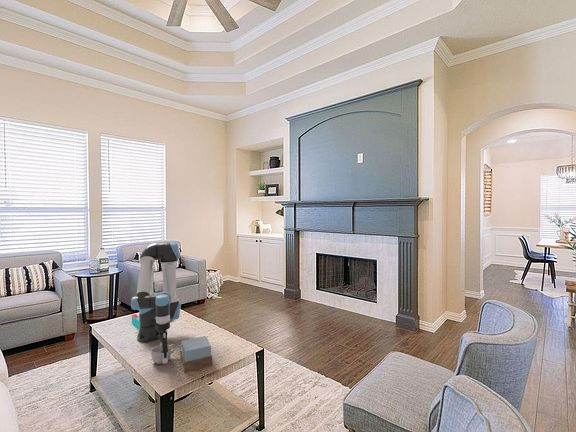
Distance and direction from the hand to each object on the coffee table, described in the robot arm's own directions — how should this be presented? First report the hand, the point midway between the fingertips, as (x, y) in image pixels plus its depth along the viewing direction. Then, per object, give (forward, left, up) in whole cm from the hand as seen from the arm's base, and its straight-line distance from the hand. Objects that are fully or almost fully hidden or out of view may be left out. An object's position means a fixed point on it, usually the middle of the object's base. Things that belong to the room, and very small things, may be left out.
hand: (164, 357), depth 177 cm
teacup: (0, 0, -2) cm, 2 cm away
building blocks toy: (-67, -2, -2) cm, 68 cm away
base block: (+12, +16, -2) cm, 20 cm away
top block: (+12, +16, +4) cm, 20 cm away
